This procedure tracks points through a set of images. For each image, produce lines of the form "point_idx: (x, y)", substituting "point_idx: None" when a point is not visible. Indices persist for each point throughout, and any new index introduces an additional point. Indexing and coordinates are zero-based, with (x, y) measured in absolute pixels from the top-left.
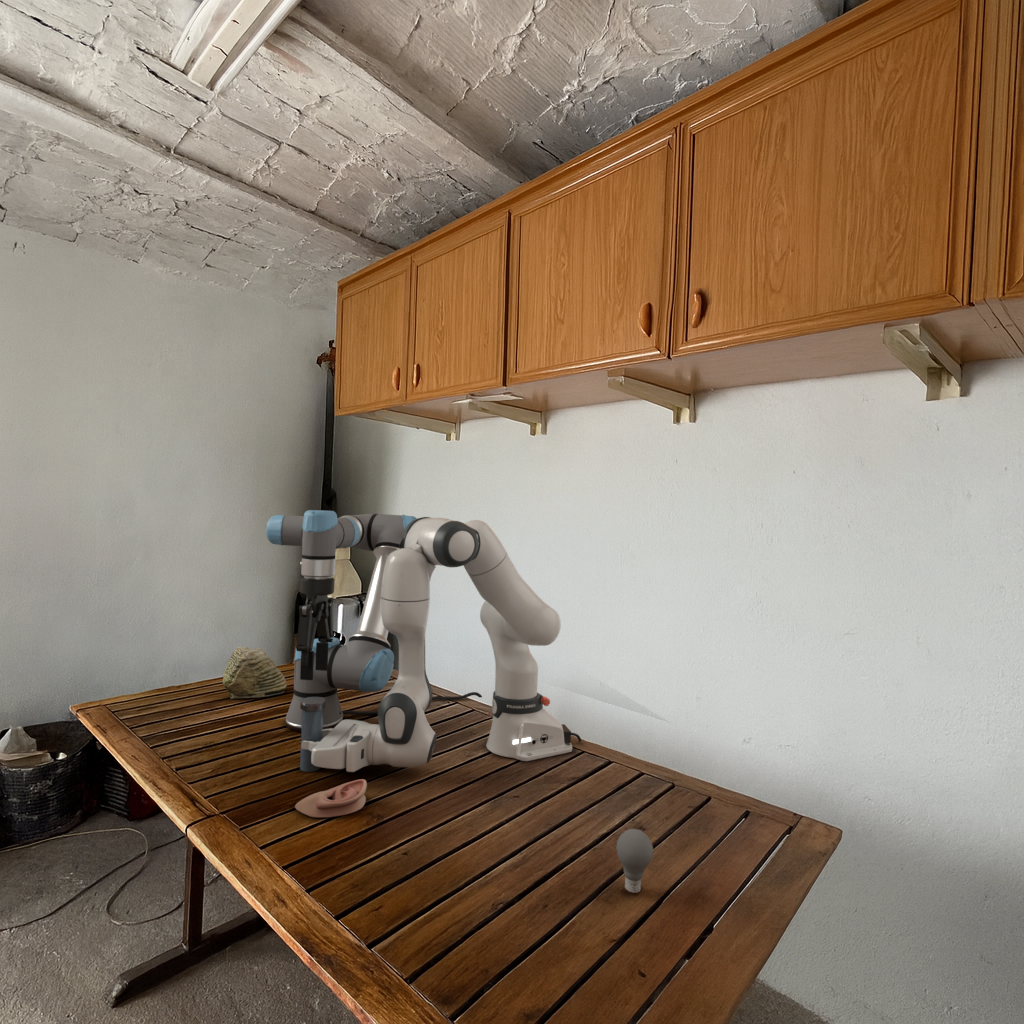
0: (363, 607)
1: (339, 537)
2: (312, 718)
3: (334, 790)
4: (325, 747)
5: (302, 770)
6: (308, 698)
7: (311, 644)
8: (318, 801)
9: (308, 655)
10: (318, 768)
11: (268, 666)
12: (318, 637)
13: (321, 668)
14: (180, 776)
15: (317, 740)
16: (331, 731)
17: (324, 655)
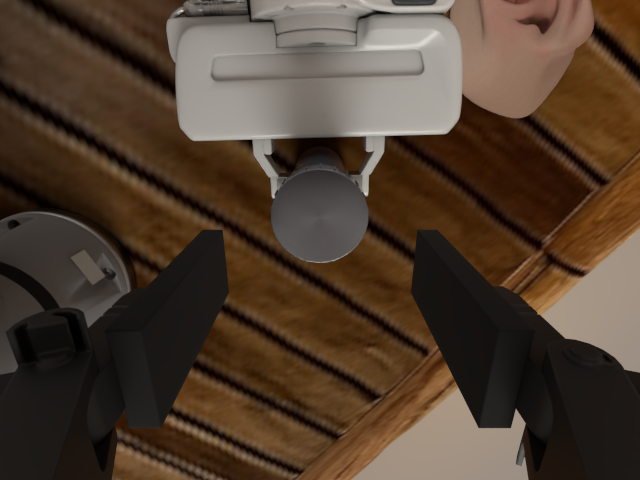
0: None
1: None
2: None
3: (519, 23)
4: (452, 88)
5: None
6: (302, 244)
7: (619, 401)
8: (581, 40)
9: (542, 335)
10: (328, 148)
11: None
12: (112, 470)
13: (222, 263)
14: (402, 379)
15: (336, 160)
16: (303, 131)
17: (191, 289)
